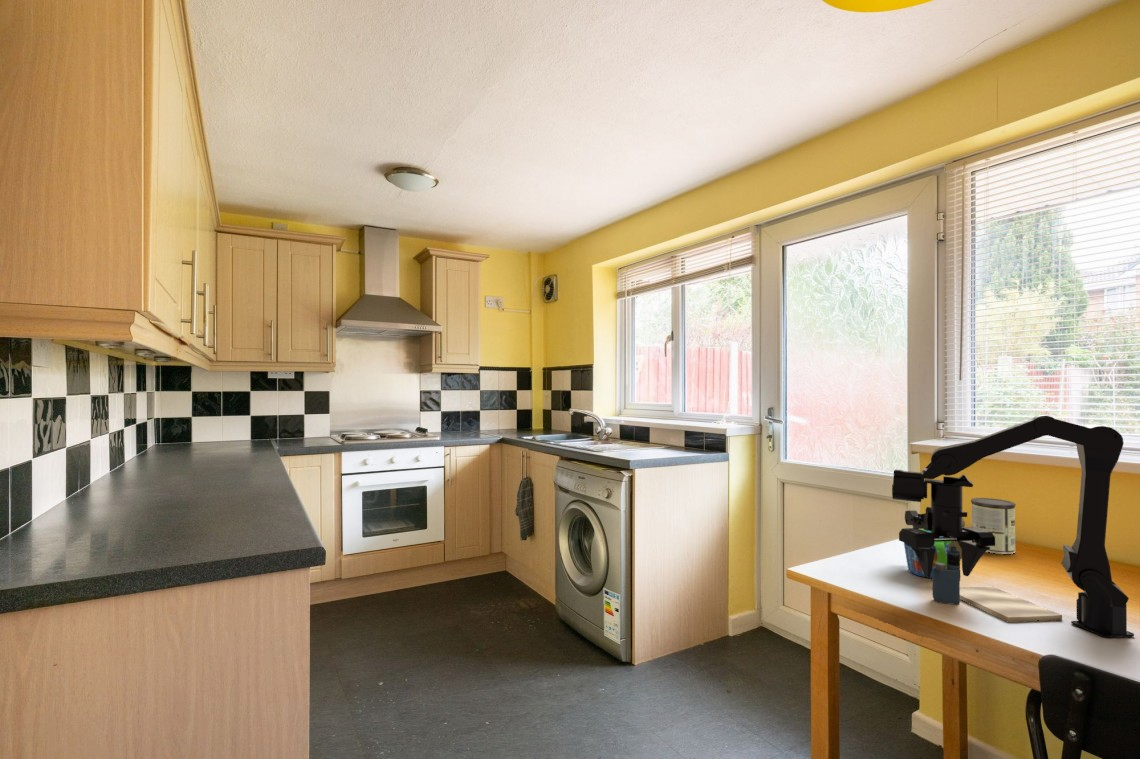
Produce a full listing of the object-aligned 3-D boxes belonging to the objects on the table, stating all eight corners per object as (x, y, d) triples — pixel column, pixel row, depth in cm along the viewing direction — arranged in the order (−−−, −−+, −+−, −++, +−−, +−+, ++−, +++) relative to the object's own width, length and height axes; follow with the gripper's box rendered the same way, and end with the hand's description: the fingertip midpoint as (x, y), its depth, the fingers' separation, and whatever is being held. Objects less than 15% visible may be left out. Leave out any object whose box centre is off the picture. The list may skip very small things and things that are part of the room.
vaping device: (962, 605, 118) (962, 549, 118) (935, 602, 119) (935, 547, 120) (957, 600, 121) (957, 545, 121) (930, 598, 122) (930, 544, 122)
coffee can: (969, 542, 167) (969, 496, 167) (1012, 548, 161) (1012, 500, 162) (972, 551, 158) (972, 502, 158) (1018, 557, 153) (1018, 506, 153)
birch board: (1062, 620, 111) (1062, 615, 111) (1008, 622, 110) (1008, 617, 110) (992, 590, 127) (992, 586, 127) (945, 592, 125) (945, 588, 125)
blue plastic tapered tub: (891, 562, 147) (891, 524, 147) (936, 566, 144) (936, 527, 144) (913, 582, 132) (914, 540, 132) (964, 587, 129) (964, 543, 129)
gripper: (955, 497, 129) (955, 563, 129) (882, 498, 127) (882, 565, 127) (997, 507, 118) (997, 580, 118) (917, 508, 116) (917, 582, 116)
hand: (946, 576), depth 120 cm, fingers open, 9 cm apart
